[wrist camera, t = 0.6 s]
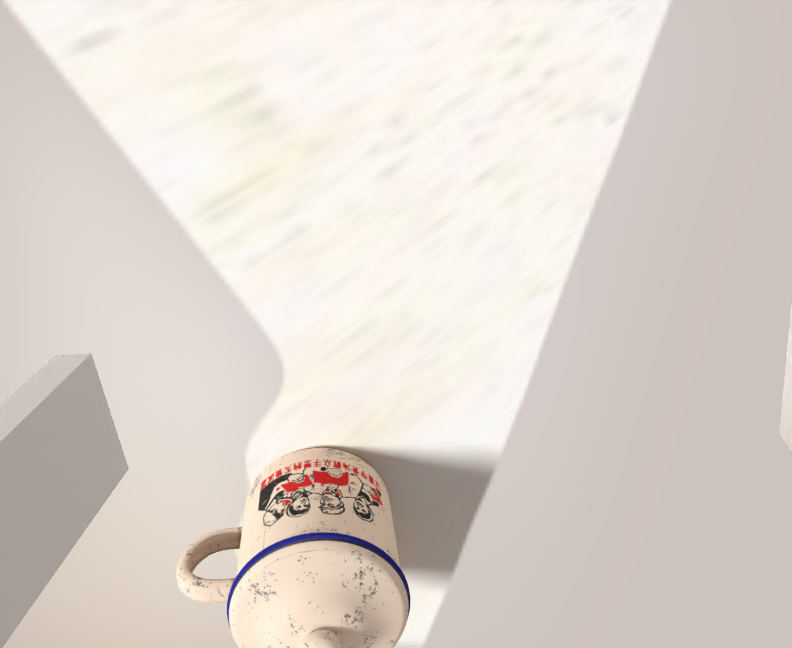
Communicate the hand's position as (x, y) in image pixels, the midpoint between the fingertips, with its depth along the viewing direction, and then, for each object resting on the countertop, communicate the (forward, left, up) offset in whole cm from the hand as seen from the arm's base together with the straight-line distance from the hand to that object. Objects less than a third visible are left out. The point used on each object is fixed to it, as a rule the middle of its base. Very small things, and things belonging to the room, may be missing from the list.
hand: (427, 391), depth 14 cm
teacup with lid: (+7, -20, -25) cm, 33 cm away
